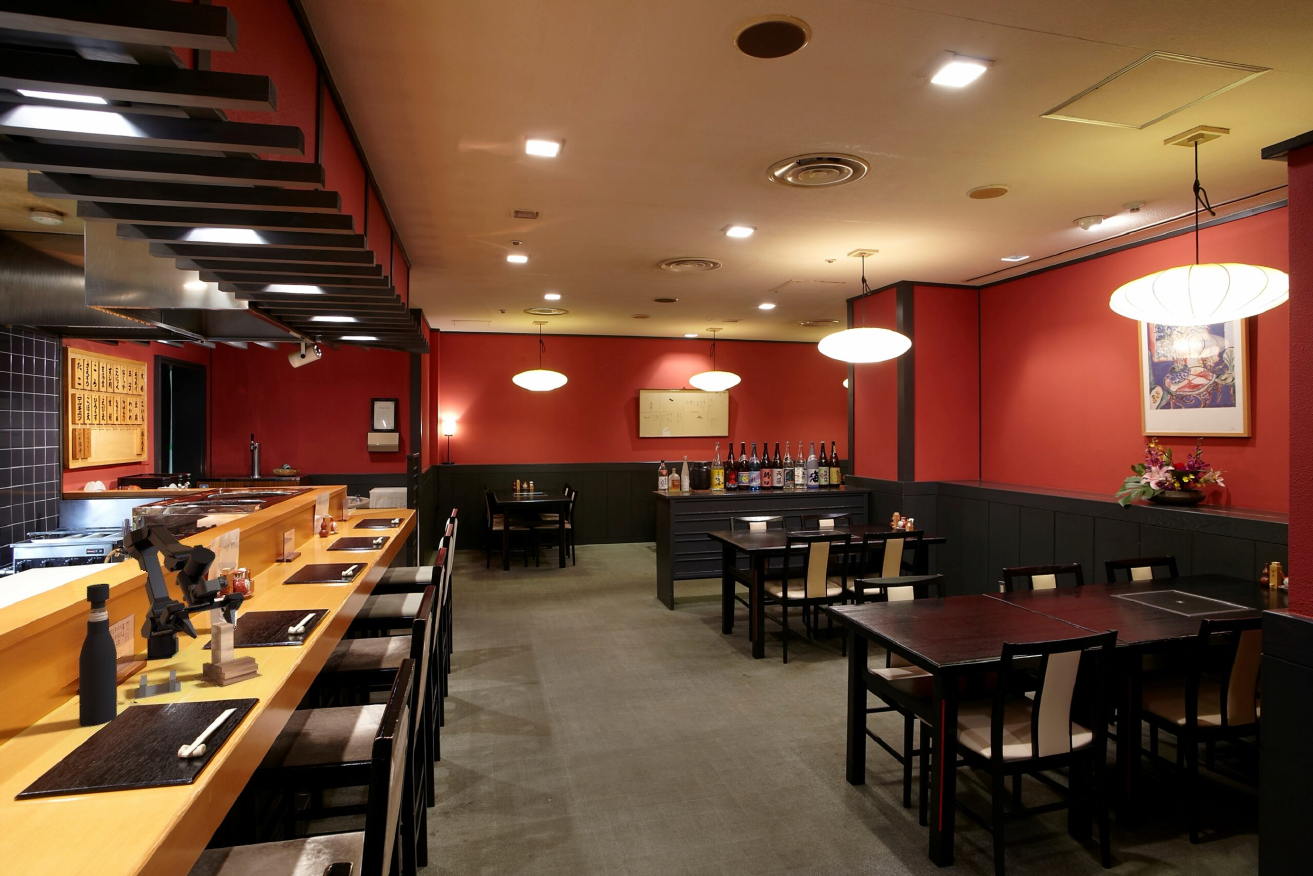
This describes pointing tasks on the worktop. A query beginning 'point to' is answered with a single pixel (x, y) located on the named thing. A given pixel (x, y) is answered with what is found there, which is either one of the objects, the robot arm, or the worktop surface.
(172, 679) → the grey holder
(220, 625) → the birch board
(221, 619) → the white cup
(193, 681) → the worktop surface
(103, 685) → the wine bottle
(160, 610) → the robot arm
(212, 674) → the walnut rack
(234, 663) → the offcut stack
